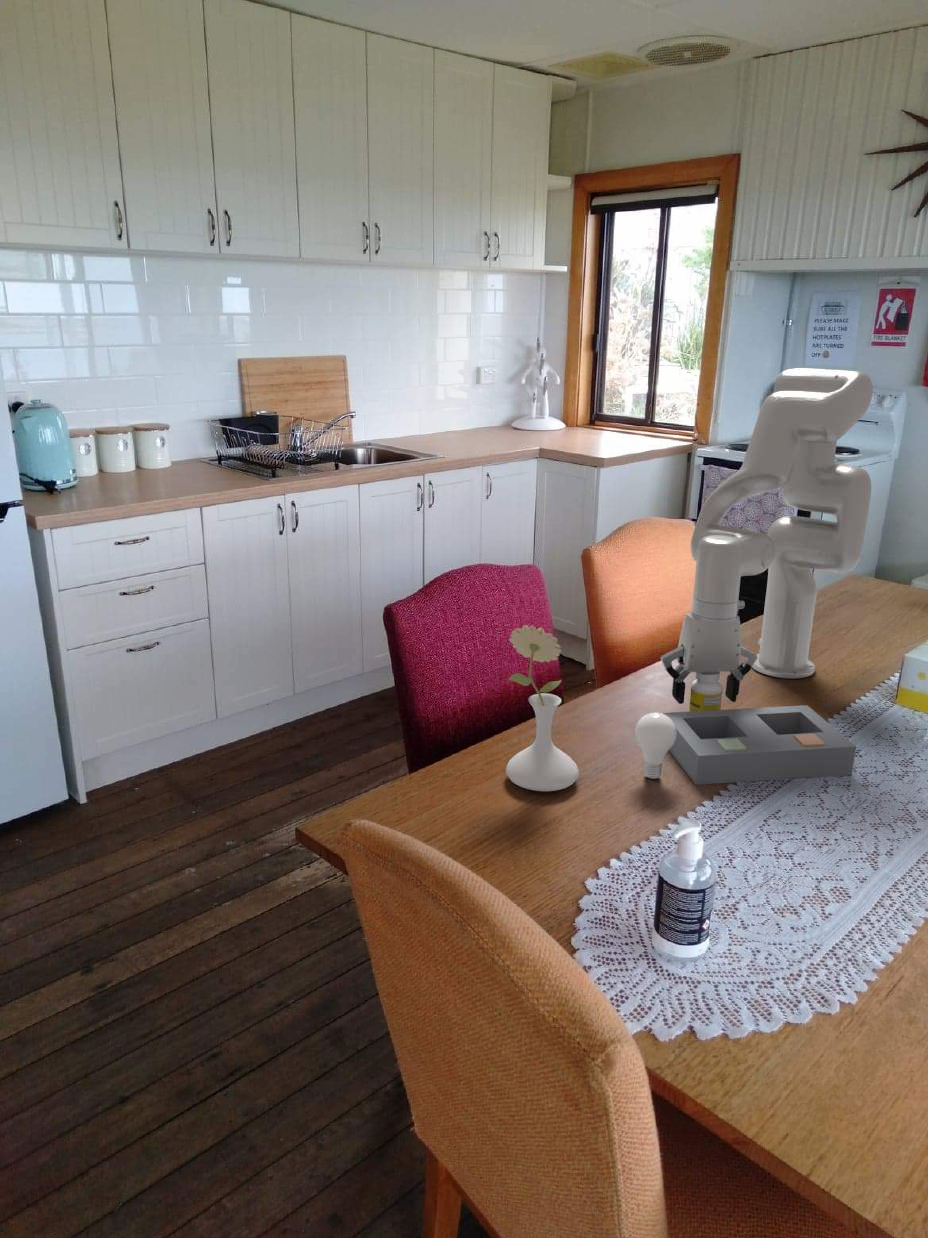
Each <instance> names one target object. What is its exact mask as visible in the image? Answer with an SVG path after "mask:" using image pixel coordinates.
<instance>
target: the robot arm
mask: <svg viewBox="0 0 928 1238" xmlns="http://www.w3.org/2000/svg"><path fill="white" fill-rule="evenodd" d="M776 376H777V377H776V378H775V381H774V388H773V393H771V394H770V395H768V396H766V398H765V399H764V401H763V403H762V405H761V408H760V411H759V414H758V415H757V418H756V423H755V425H754V428H753V431H752V435H751V438H750V440H749V443H748V445H747V449H746V452H745V455H744V458H743V462H742V465H741V467H740V468H739V470H737V471H736V472H735V473H734V474H732V475H730V476H729V477H728V478H726V479H725V480H723V482H721V483H720V484H719V485H717V487H716V488H715V489H714V490H713V491H712V492H711V494H710V495H709V496H708V497H707V498H706V500H705V501H704V503H703V504H702V506H701V509H700V511H699V515H698V517H697V520H696V523H695V526H694V529H693V532H692V535H691V536H692V537H691V540H690V554H691V557H692V559H693V560H694V561H695V562H696V563H695V574H694V584H693V593H692V601H691V602H692V603H691V611H687V612H686V614H685V617H684V620H683V623H682V627H681V631H680V634H679V640H678V641H679V642H678V645H677V647H676V648H675V649H672V650H670V651H668V652H667V653H666V652H665V654H662V655H661V656H660V658H659V659H660V660H661V664H662V666H663V668H664V670H665V671H666V672H667V673H668V674H669V676H671V677H672V678H673V679H672V690H671V695H672V698H674V700H675V701H676V702H677V704H679V705H682V704H684V703H685V693H686V683H685V681H684V680H685V679H686V678H688V676H689V675H690V674H691V673H695V674H696V673H699V672H720V673H721V672H722V673H723V672H726V673H727V672H729V674H728V675H727V677H726V684H725V685H726V686H725V693H724V694H725V697H726V698H727V699H728V700H729V701H731V702H733V703H736V701H737V696H739V693H740V685H741V683H740V682H741V681H743V679H744V676H746V675H747V674H748V673H749V672H750V671H752V669H754V670H755V671H757V672H758V673H761V674H763V675H767V676H769V677H772V678H773V677H774V678H780V679H790V680H791V679H803V678H807V677H810V676H812V675H813V674H814V673H815V671H816V670H815V669H816V666H815V664H814V663H813V662H812V661H811V660H810V659H809V654H810V653H809V651H810V645H811V637H812V630H813V623H814V616H815V615H814V614H815V610H816V609H815V607H816V599H817V593H818V586H817V581H816V580H815V576H814V575H813V573H812V570H811V569H813V570H820V571H824V572H831V573H836V574H847V573H850V572H852V571H853V570H854V569H855V568H856V567H857V565H858V563H859V562H860V558H861V555H862V550H863V545H864V539H865V533H866V526H867V523H868V522H867V521H868V515H869V511H870V505H871V497H872V481H871V476H870V474H869V473H868V471H867V470H866V469H864V468H862V467H860V466H856V465H850V464H849V465H847V464H839V463H836V461H835V460H836V459H835V457H836V449H837V445H838V444H837V443H838V440H840V439H842V437H843V436H845V434H846V433H847V432H849V430H851V428H852V427H853V426H855V424H856V423H858V421H860V419H861V418H863V416H864V415H865V413H866V412H867V410H868V409H869V407H870V404H871V402H872V399H873V395H874V386H873V381H872V379H871V378H870V376H869V375H868V374H866V372H863V371H859V370H849V369H848V370H846V369H828V368H814V367H812V368H811V367H797V368H795V367H794V368H788V369H785V370H782V372H780V373H778V375H776ZM781 488H782V499H783V501H784V504H786V505H787V506H788V507H790V508H792V509H796V510H801V511H807V512H812V513H818V514H819V513H820V514H825V515H826V514H827V515H833V516H835V518H836V521H830V520H824V519H820V518H812V517H806V516H799V515H797V516H796V515H788V516H782V517H780V518H778V519H776V520H774V521H773V522H772V524H771V525H770V527H769V530H768V532H767V534H765V533H762V532H759V531H755V530H750V529H749V530H748V529H743V528H740V527H739V528H738V527H730V526H725V525H721V523H722V521H723V519H724V517H725V515H726V514H727V513H728V512H729V510H731V509H732V508H733V507H734V506H736V505H737V504H739V503H741V502H742V501H745V500H747V499H748V498H753V497H755V496H759V495H761V494H765V493H767V492H772V491H774V490H778V489H781ZM765 571H767V573H768V575H767V582H766V583H767V584H766V592H765V601H764V607H763V608H764V611H763V619H762V626H761V635H760V638H759V639H758V640H757V644H758V645H759V651H758V652H759V653H757V654H756V653H755V652H753V651H751V650H749V649H747V648H745V647H743V646H742V630H741V620H740V616H739V615H738V614H739V610H741V609H744V608H745V606H746V603H745V601H744V600H740V599H739V594H740V586H741V578H742V577H745V576H748V577H749V576H757V575H759V574H762V573H764V572H765ZM741 656H742V657H744V660H743V662H741V664H740V661H741ZM675 660H676V662H677V663H678V665H676V667H675V668H674V666H673V663H672V662H673V661H675Z"/></svg>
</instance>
